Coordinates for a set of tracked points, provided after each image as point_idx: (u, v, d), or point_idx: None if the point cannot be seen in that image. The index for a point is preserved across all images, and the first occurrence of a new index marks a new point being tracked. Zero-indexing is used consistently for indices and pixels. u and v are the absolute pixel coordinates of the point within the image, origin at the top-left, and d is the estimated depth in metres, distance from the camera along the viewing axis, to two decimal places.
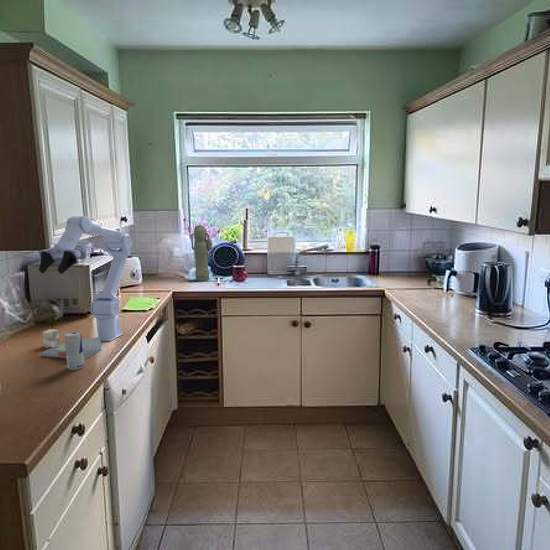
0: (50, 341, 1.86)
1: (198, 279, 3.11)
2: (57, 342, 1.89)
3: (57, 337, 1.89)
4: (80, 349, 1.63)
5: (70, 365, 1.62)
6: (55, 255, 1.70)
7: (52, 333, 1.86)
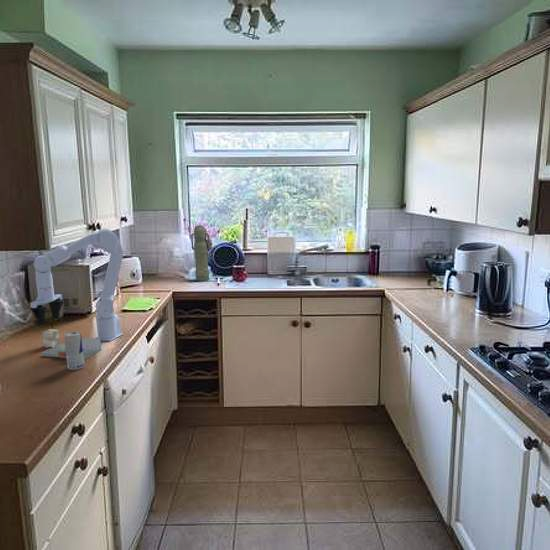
0: (50, 341, 1.86)
1: (198, 279, 3.11)
2: (57, 342, 1.89)
3: (57, 337, 1.89)
4: (80, 349, 1.63)
5: (70, 365, 1.62)
6: (50, 302, 1.88)
7: (52, 333, 1.86)
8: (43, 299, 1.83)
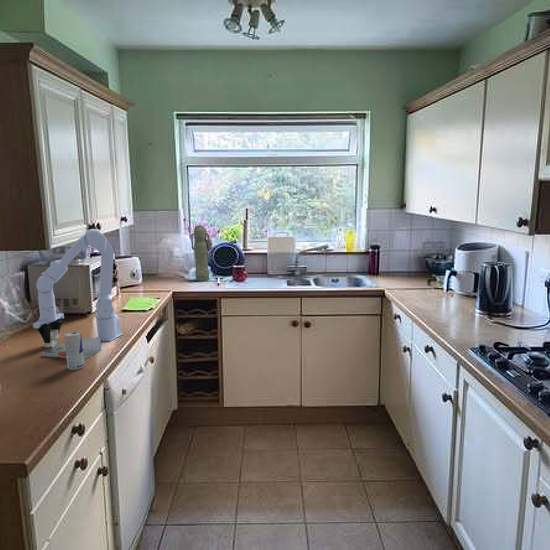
0: (50, 341, 1.86)
1: (198, 279, 3.11)
2: (57, 342, 1.89)
3: (57, 337, 1.89)
4: (80, 349, 1.63)
5: (70, 365, 1.62)
6: (52, 321, 1.89)
7: (52, 333, 1.86)
8: (45, 319, 1.84)
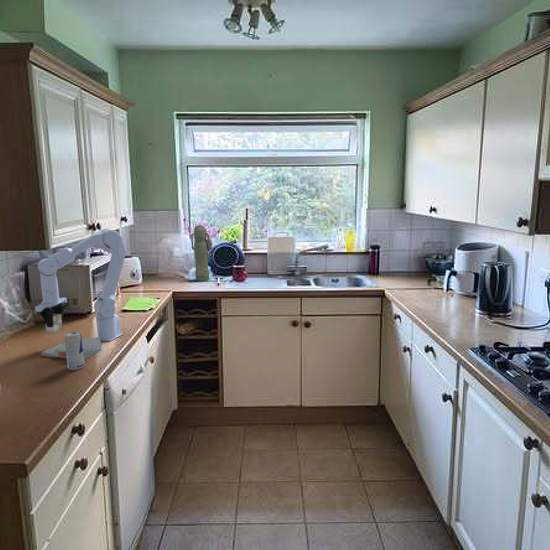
0: (53, 326, 1.83)
1: (198, 279, 3.11)
2: (60, 326, 1.86)
3: (60, 321, 1.86)
4: (80, 349, 1.63)
5: (70, 365, 1.62)
6: (55, 305, 1.86)
7: (55, 317, 1.83)
8: (48, 303, 1.81)
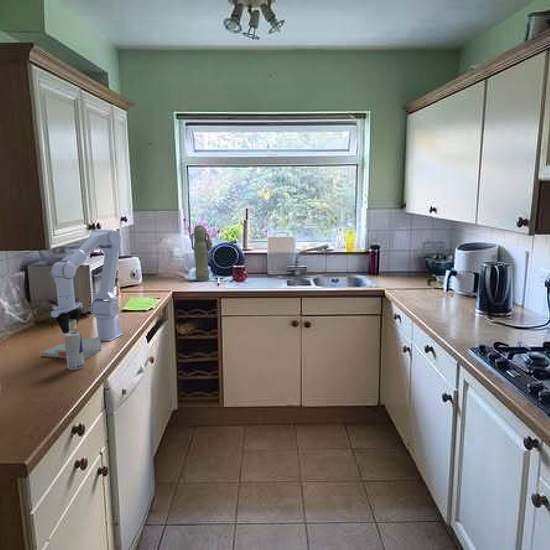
0: None
1: (198, 279, 3.11)
2: None
3: (75, 327, 1.78)
4: (80, 349, 1.63)
5: (70, 365, 1.62)
6: (71, 310, 1.78)
7: (70, 323, 1.76)
8: (64, 308, 1.74)
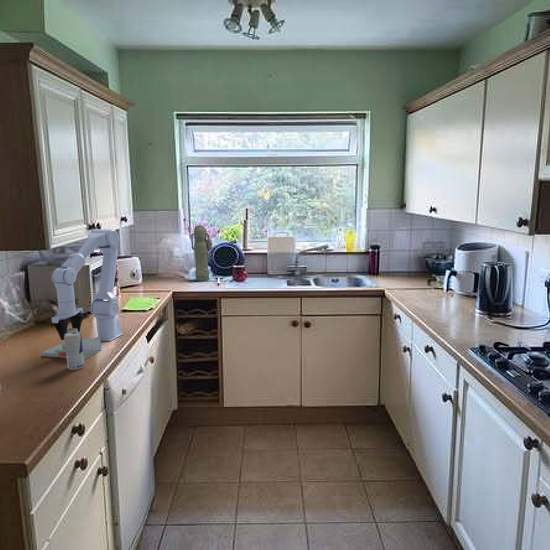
0: None
1: (198, 279, 3.11)
2: None
3: None
4: (80, 349, 1.63)
5: (70, 365, 1.62)
6: (71, 316, 1.79)
7: None
8: (64, 313, 1.74)
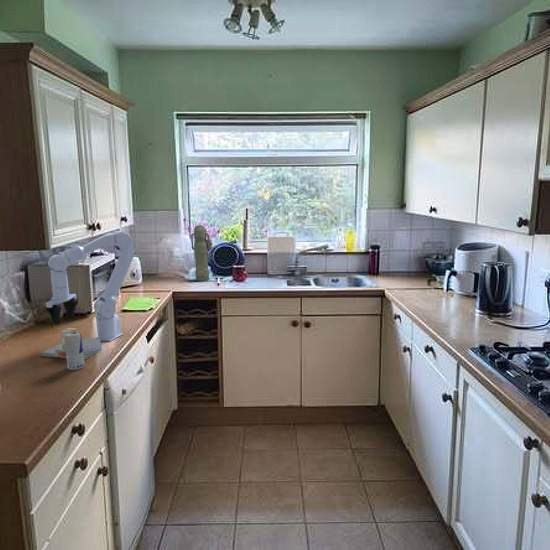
0: None
1: (198, 279, 3.11)
2: None
3: None
4: (80, 349, 1.63)
5: (70, 365, 1.62)
6: (65, 301, 1.87)
7: None
8: (58, 299, 1.82)
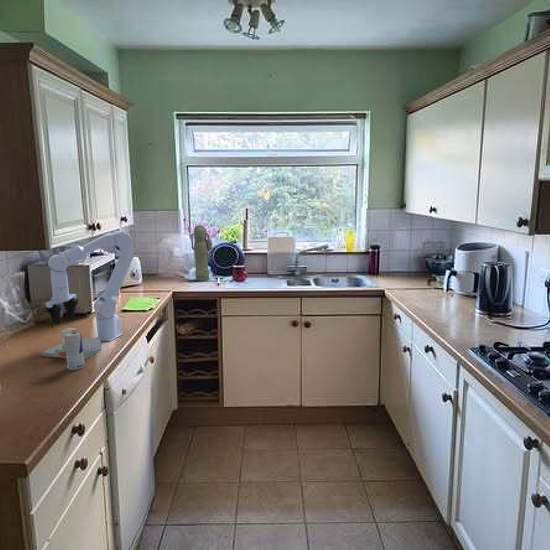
0: None
1: (198, 279, 3.11)
2: None
3: None
4: (80, 349, 1.63)
5: (70, 365, 1.62)
6: (65, 301, 1.87)
7: None
8: (58, 299, 1.82)
